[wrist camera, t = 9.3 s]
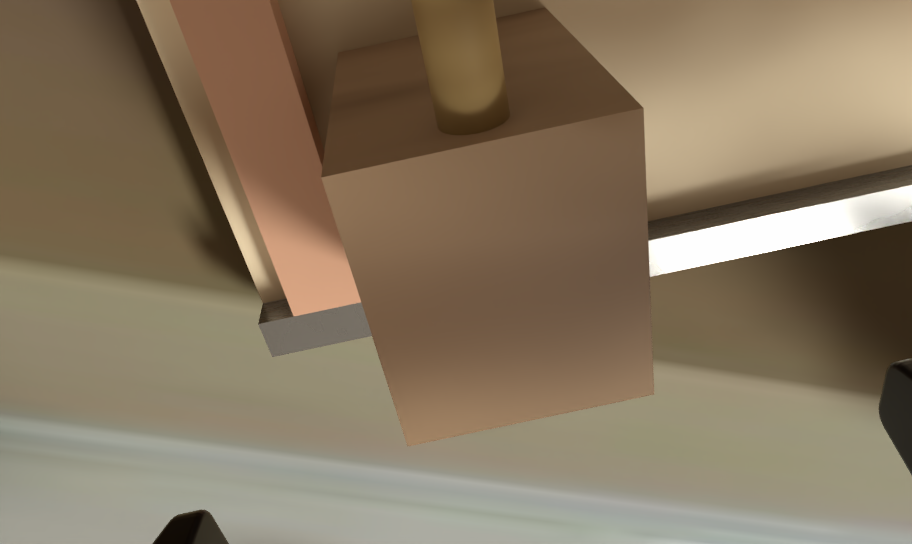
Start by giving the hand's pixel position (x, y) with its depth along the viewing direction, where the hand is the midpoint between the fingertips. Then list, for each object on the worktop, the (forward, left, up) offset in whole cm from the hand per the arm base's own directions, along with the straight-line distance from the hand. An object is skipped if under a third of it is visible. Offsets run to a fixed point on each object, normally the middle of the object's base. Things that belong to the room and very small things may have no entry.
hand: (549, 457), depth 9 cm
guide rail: (-4, -5, -11) cm, 12 cm away
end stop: (+3, +4, -11) cm, 12 cm away
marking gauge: (+2, 0, -11) cm, 11 cm away
